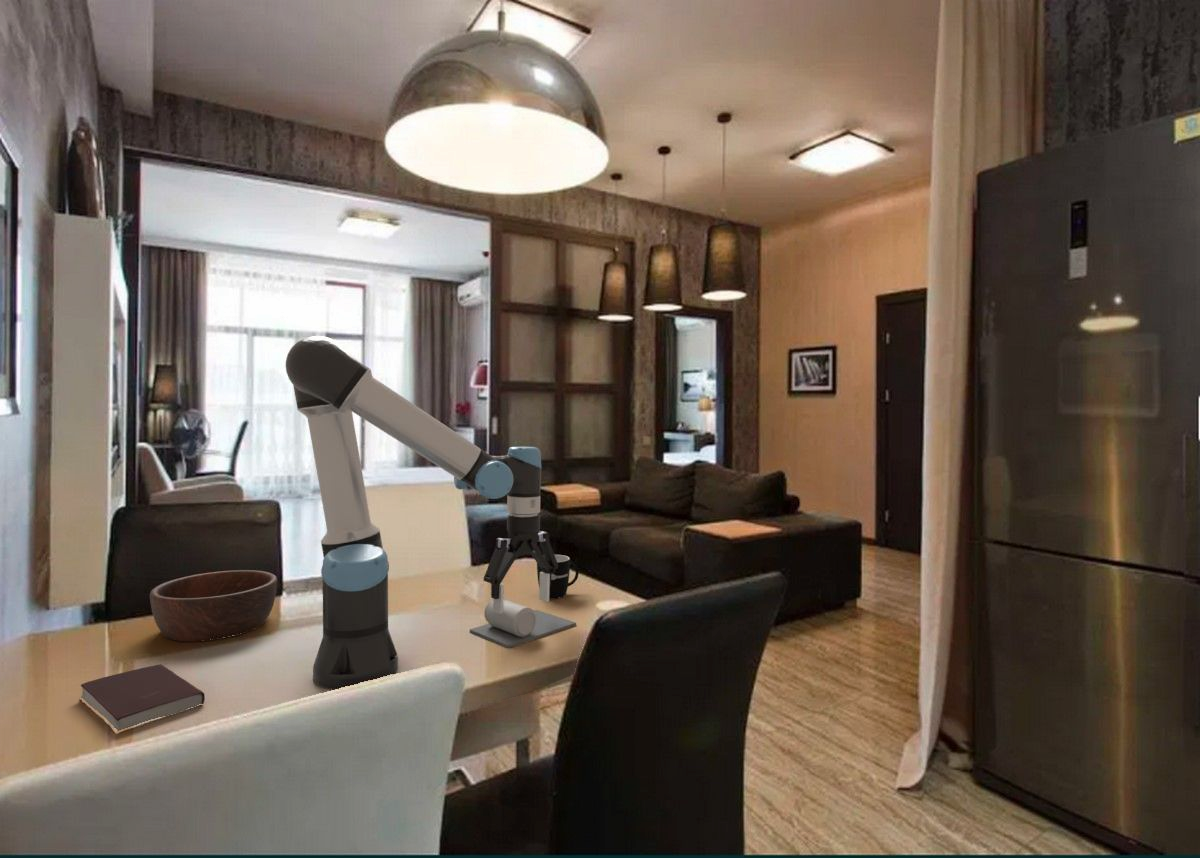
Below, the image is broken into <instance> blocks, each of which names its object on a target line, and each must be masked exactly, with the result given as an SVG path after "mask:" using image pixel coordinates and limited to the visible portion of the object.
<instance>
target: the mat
mask: <svg viewBox="0 0 1200 858" xmlns="http://www.w3.org/2000/svg"><path fill="white" fill-rule="evenodd" d="M532 610H533V611H534V612H535V614H536V624H535V627H534V629H533V631H532V632H531V633H530V634H529V635H528V636H526V637H519V636H516V635H514V634H511V633H509V632H506V631H504V630H501V629H499V628H496V627H494V626H491V625H490V624H489V623H487V624H484V625H480V626H477V627H473V628H470V629H469V633H471V634H473V635H476V636H478V637H481V638H483V639H486V640H488V641H489V642H490V641H491V642H492V643H495V644H498V645H500V646H502V647H505V648H508V649H510V647H511V648H513V647H516V646H519V645H522V644H525V643H528V642H530V640H531V641H534V640H537V639H539V637H540V638H542V636H543V637H546V636H549V635H552V634H554V633H557V632H559V631H563V630H566V629H569V628H571V626H572V627H575V626H577V622H576V621H572V620H569V619H566V618H563V617H560V616H557V615H554V614H551V613H548V612H545V611H541V610H539V609H532ZM574 625H575V626H574ZM568 627H569V628H568ZM551 633H552V634H551ZM548 634H549V635H548ZM545 635H546V636H545ZM536 638H537V639H536ZM533 639H534V640H533ZM527 641H528V642H527ZM524 642H525V643H524Z"/></svg>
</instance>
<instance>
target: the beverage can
mask: <svg viewBox="0 0 1200 858" xmlns="http://www.w3.org/2000/svg"><path fill="white" fill-rule="evenodd" d="M533 610H534V609H533V608H531V607H528V606H525V605H522V604H520V603H518V602H517V603H516V602H513V601H510V600H508V599H504V609H503V614H499V613H496V612H493V599H492V600H490V601H489V602H488V603H487V604H486V605H485V609H484V619H485V621H486V622H487V624H490V625H491V626H494V627H496V628H499V629H501V630H504V631H506V632H509V633H511V634H514V635H516V636H519V637H526V636H528V635H529V634H530V633H531V632H532V631H533V629H534V627H535V624H536V614H535V612H534V611H533Z"/></svg>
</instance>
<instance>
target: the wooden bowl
mask: <svg viewBox="0 0 1200 858" xmlns="http://www.w3.org/2000/svg"><path fill="white" fill-rule="evenodd" d="M277 587H278V579H277V576H276V575H275V574H273V573H271V572H268V571H263V570H252V569H251V570H250V569H249V570H248V569H245V570H244V569H238V570H223V571H222V570H221V571H214V572H206V573H198V574H192V575H188V576H184V577H180V578H176V579H172V580H168V581H165V582H163V583H161V584H158V585H157V586H155V587H154V588H152V589H151V591H150V592H149V601H150V608H151V613H152V616H153V619H154V622H155V624H156V626H157V628H158V630H159V631H160V633H161V634H162V635H163V636H164V637H166V638H167V639H169V640H171V639H172V640H173V641H175V640H178V641H177V642H183V641H199V642H203V641H202V640H210V639H211V640H210V641H213V640H212V639H217V638H223V637H228V636H232V635H236V636H238V635H237V634H240V633H243V634H245V633H244V632H246V633H248V632H247V631H249V632H251V631H253V630H252V629H254V628H256V629H257V628H259V627H261V626H262V625H263V624H264V623H265V622H267V619H268V618H269V616H270V614H271V612H272V609H273V607H274V603H275V601H276V600H275V599H276V594H277ZM260 625H261V626H260ZM258 626H259V627H258ZM250 630H251V631H250ZM254 630H255V629H254ZM240 635H241V634H240ZM232 637H233V636H232ZM228 638H229V637H228ZM223 639H224V638H223ZM217 640H218V639H217Z"/></svg>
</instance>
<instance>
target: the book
mask: <svg viewBox="0 0 1200 858" xmlns="http://www.w3.org/2000/svg"><path fill="white" fill-rule="evenodd" d="M80 687H81V688H82V689H81V690H82V693H81V696H80V697H81V698H83V699H84V700H85V701H86V702H87V703H88V704H89V705H90V706H92V707H93V708H94V709H95V710H97V711H98V712H99V713H100V714H101V715H103V716H104V717H105V718H106V719H107V720H108V721H109V722H110V723H111V724H112V725H113V726H114V728H116V729H117V730H118V731H119V730H122V729H125V728H128V727H131V726H134V725H137V724H139V723H142V722H145V721H148V720H151V719H155V718H158V717H163V716H168V715H171V714H174V715H176V714H175V713H177V714H179V713H178V712H180V713H182V712H181V711H183V710H186V709H188V708H191V707H195V706H197V705H199V704H203V705H204V703H205V692H203V690H201V689H200V688H197V687H196V686H195V685H193V684H191V683H190V682H189V681H188V680H186V679H184V678H182V677H180V675H178V674H176V673H175V672H174V671H172V670H170V669H169V668H168V667H166V666H165V665H163V664H161V663H160V664H154V665H149V666H145V667H141V668H136V669H133V670H129V671H124V672H123V671H122V672H119V673H116V674H112V675H108V676H104V677H99V678H97V679H93V680H90V681H89V680H88V681H86V682H84V683H82V684H80ZM195 708H196V707H195ZM186 711H187V710H186ZM183 712H184V711H183ZM171 716H172V715H171ZM168 717H169V716H168Z"/></svg>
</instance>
